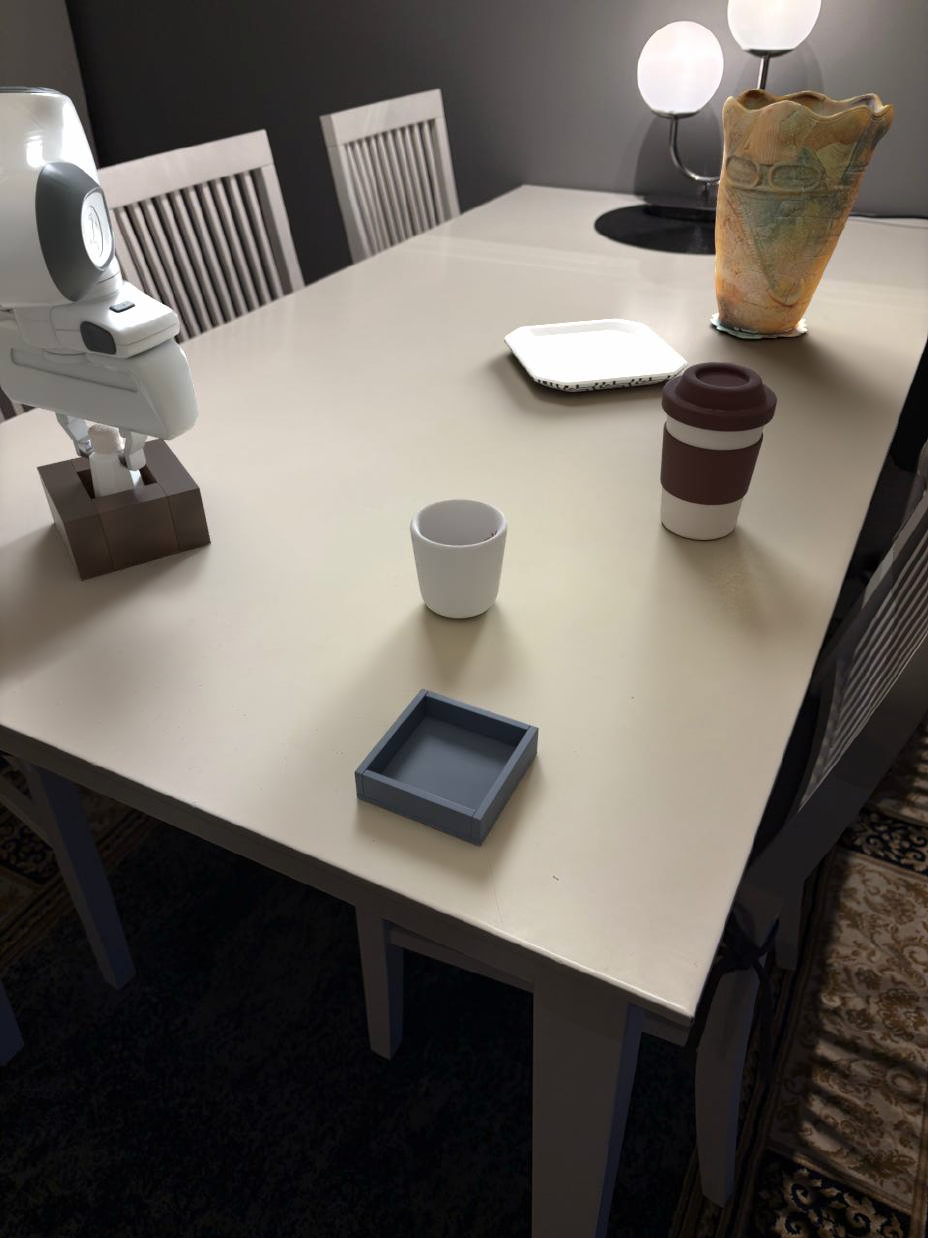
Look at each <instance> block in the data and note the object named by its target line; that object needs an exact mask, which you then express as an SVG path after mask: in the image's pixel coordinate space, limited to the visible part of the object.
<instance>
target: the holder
mask: <svg viewBox="0 0 928 1238" xmlns="http://www.w3.org/2000/svg"><path fill="white" fill-rule="evenodd" d="M143 451H144V455H145V460H146V463H145V466H144V467H142V468H140V469H139V472H140V475H141V477H142V480H143V483H144V485H145V486H142V487H138V488H134V489H130V490H126V491H122V492H118V493H114V494H110V495H106V496H102V497H99V498H95V493H94V486H93V480H92V474H91V468H90V460H89V459H88V458H84V457H80V456H78V457H74V458H71V459H70V458H69V459H65V460H62V461H57V462H52V463H48V464H45V465H44V464H43V465H40V466H36V469H37V473H38V476H39V479H40V482H41V485H42V488H43V491H44V495H45V499H46V501H47V505H48V507H49V510H50V511H49V512H50V513H51V517H52V520H53V523H54V524H55V527H56V529H57V532H58V533H59V535H60V537H61V541H62V542H63V544H64V546H65V549H66V551H67V554H68V555H69V557H70V559H71V562H72V564H73V566H74V569H75V571H76V573H77V575H78V577H79V579H80V581H85V580H88V579H92V578H94V577H98V576H102V575H105V574H109V573H112V572H115V571H119V570H123V569H126V568H130V567H134V566H137V565H139V564H140V565H141V564H144V563H148V562H151V561H153V560H157V559H162V558H164V557H165V558H166V557H168V556H171V555H175V554H178V553H182V552H185V551H189V550H193V549H196V548H200V547H204V546H206V545H210V544H211V543H212V541H211V536H210V531H209V527H208V522H207V517H206V513H205V511H206V510H205V506H204V502H203V496H202V492H201V488H200V486H199V485H198V484H197V482H196V481H195V479H194V478H193V477H192V475H191V474H190V473H189V472H188V470H187V469H186V467H185V466H184V465H183V463H182V462H181V461H180V460H179V458H178V457H177V455H176V454H175V453H174V451H173V450H172V449H171V448H170V446H169V445H168V444H167V442H166V440H163V439H159V438H154V439H151V440H146V442H145V444H144V447H143Z"/></svg>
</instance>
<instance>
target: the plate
mask: <svg viewBox="0 0 928 1238" xmlns="http://www.w3.org/2000/svg"><path fill="white" fill-rule="evenodd" d="M503 342H504V343H505V345H506V346H507V347H508V348H509V350H510V351H511V352H512V354H513V355H514V356H515V358H516V359H517V361H518V362H519V363H520V365H521V366H522V367H523V368H524V370H525V371H526V372H527V373H528V375H529V377H531V379H532V380H533V381H534V382H536V383H538V384H541V385H543V386H545V387H547V388H548V389H553V390H558V391H562V392H565V393H566V392H567V393H581V392H591V391H599V390H601V391H602V390H609V389H610V390H611V389H621V388H629V387H631V388H632V387H639V386H640V387H641V386H649V385H651V386H652V385H656V384H658V383H661V382H664V381H666V380H671V379H673V378H675V377H678V376H679V374H681V372H682V371H685V370H686V369H687V368H688V361H687V360H685V358H683V356H681V355H680V354H679V353H678V352H676V351H675V350H674V349H673V348H672V347H671V346H670V345H669V344H667V343H666V342H665V341H664V340H663V339H662V338H660V336H658V335H657V334H656V333H655V332H654V331H653V330H652V329H650V328H649V327H648V326H647V325H646V324H644V323H641V322H637V321H630V320H625V319H620V318H611V319H599V320H598V319H597V320H588V321H587V320H586V321H575V322H564V323H563V322H562V323H552V324H541V325H540V324H539V325H529V326H521V327H518V328H516V329H515V330H513V331H512V332H511V333H509V334H507V335H506V336H505V337H504V338H503Z"/></svg>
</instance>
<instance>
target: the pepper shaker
mask: <svg viewBox="0 0 928 1238" xmlns="http://www.w3.org/2000/svg"><path fill="white" fill-rule="evenodd" d="M88 435H89V437H90V438H91V443H92V446H93V447H94V448H93V449H94V452H93V453H92V454H91V455H90V456H89V460H90V468H91V474H92V480H93V486H94V493H95V498H99V497H102V496H106V495H110V494H114V493H118V492H122V491H126V490H130V489H134V488H138V487H142V486H145V485H144V483H143V480H142V477H141V475H140V472H139V470H137V471H132V470H128V469H125V468H122V467H121V466H120V464H119V463H120V460H119V459H118V456H117V451H119V450H121V449H124V445H125V444H124V442H123V438H121V437H120V434H119V430H118V428H116V427H112V426H108V425H104V424H100V423H94V424H92V425H90V427H89V429H88Z"/></svg>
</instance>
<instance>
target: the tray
mask: <svg viewBox="0 0 928 1238" xmlns="http://www.w3.org/2000/svg"><path fill="white" fill-rule="evenodd" d="M539 730H540V729H539V727H537V726H535V725H532V724H529V723H526V722H523V721H519V720H517V719H514V718H510V717H508V716H505V715H502V714H499V713H496V712H493V711H490V710H487V709H484V708H481V707H478V706H475V705H472V704H470V703H467V702H464V701H460V700H458V699H454V698H452V697H449V696H445V695H442V694H440V693H436V692H434V691H431V690H428V689H426V688H421V689H420V690H419V691H418V692H417V694H416V695H415V696H414V697H413V699H412V700H411V701H410V703H408V705H407V706H406V707H405V709H404V710H403V711H402V712H401V714H400V715H399V716H398V717H397V718H396V720H395V721H394V722H393V723H392V724H391V726H390V727H389V728H388V730H387V731H386V732H385V734H383V736H382V737H381V738H380V740H379V741H378V742H377V743H376V744H375V746H373V748H372V750H370V752H369V753H368V754H367V756H365V758H364V759H363V760H362V762H361V763H360V764H359V765H358V767H357V768H356V769H354V782H355V789H356V798H357V799H359V800H363V801H365V802H367V803H370V804H372V805H375V806H378V807H380V808H382V809H385V810H388V811H390V812H392V813H395V814H397V815H400V816H403V817H405V818H407V819H410V820H412V821H415V822H418V823H420V824H423V825H425V826H427V827H430V828H433V829H435V830H438V831H440V832H443V833H445V834H448V835H450V836H452V837H456V838H458V839H461V840H462V841H466V842H468V843H471V844H473V845H476V846H479V847H481V846H482V844H483V843H484V841H485V839H486V838H487V837H488V835H489V833H490V831H491V830H492V829H493V827H494V825H495V823H496V821H497V820H498V818H499V817H500V815H501V813H502V812H503V810H504V809H505V807H506V805H507V804H508V802H509V801H510V798H511V797H512V795H513V794H514V792H515V790H516V789H517V787H518V785H519V784H520V782H521V780H522V779H523V778H524V775H525V774H526V772H527V770H528V769H529V767H530V766H531V764H532V762H533V761H534V759H535V757H536V756H537V755H538V743H539Z"/></svg>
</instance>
